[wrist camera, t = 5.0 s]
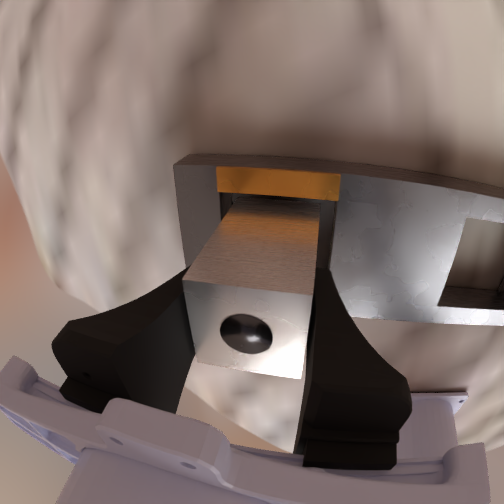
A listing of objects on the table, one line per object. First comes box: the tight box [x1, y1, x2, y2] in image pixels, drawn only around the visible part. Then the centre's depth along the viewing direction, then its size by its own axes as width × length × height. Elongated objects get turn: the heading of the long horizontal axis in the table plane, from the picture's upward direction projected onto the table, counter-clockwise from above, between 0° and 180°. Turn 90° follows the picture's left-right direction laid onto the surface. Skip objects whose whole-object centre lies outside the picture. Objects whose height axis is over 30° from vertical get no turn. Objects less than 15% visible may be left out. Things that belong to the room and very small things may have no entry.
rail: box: [173, 154, 504, 326], centre depth 15 cm, size 8×22×2 cm, turn 92°
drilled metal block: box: [182, 197, 320, 379], centre depth 13 cm, size 4×4×7 cm
